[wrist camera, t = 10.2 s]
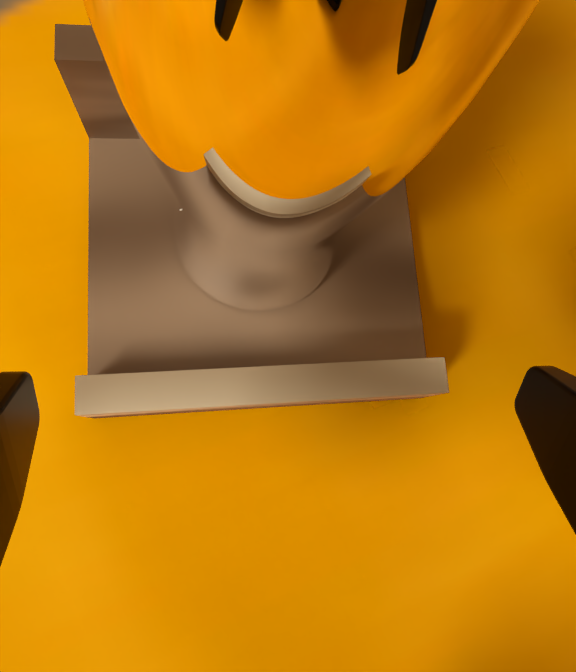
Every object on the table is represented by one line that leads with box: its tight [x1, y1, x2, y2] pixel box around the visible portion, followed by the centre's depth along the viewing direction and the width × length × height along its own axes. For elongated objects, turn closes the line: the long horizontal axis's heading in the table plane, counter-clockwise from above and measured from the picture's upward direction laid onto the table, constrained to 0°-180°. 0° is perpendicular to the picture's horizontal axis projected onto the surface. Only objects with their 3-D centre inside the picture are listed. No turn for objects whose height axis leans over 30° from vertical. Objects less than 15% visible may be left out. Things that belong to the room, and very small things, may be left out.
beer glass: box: [83, 0, 540, 311], centre depth 11 cm, size 7×7×15 cm
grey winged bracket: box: [54, 24, 449, 418], centre depth 17 cm, size 11×12×5 cm
